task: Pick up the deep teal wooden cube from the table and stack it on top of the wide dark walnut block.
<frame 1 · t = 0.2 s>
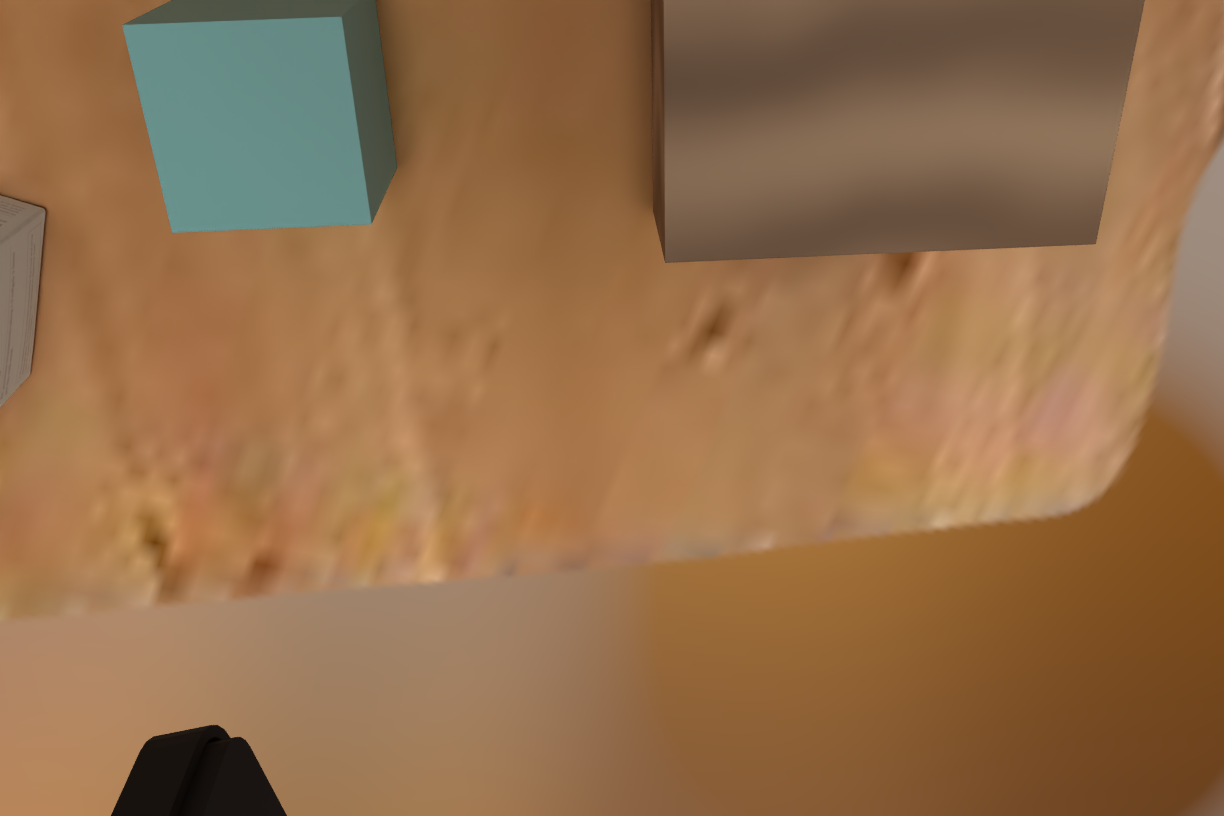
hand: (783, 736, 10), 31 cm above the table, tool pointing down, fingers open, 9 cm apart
teal cube: (297, 83, 36), on the table
walnut block: (861, 0, 36), on the table
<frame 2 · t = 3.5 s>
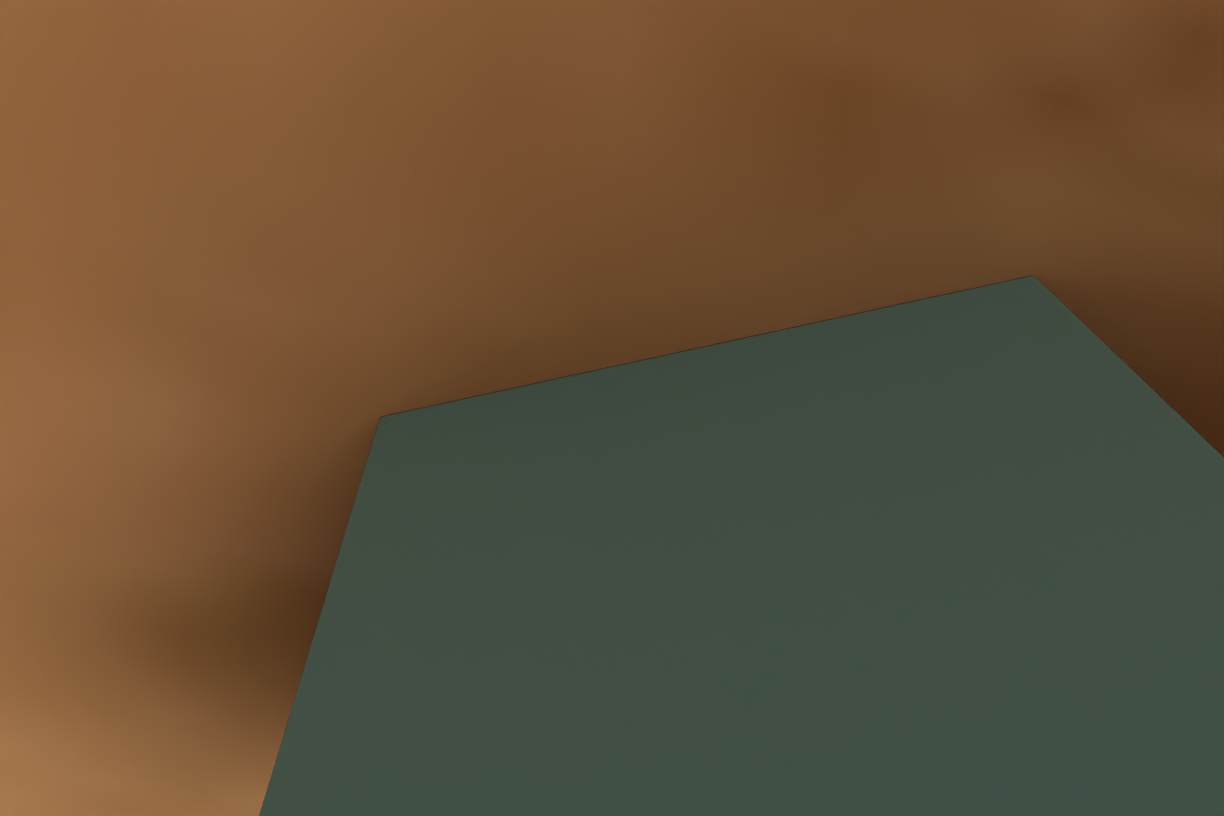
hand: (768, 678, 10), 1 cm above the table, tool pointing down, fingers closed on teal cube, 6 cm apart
teal cube: (751, 603, 11), on the table, touching gripper
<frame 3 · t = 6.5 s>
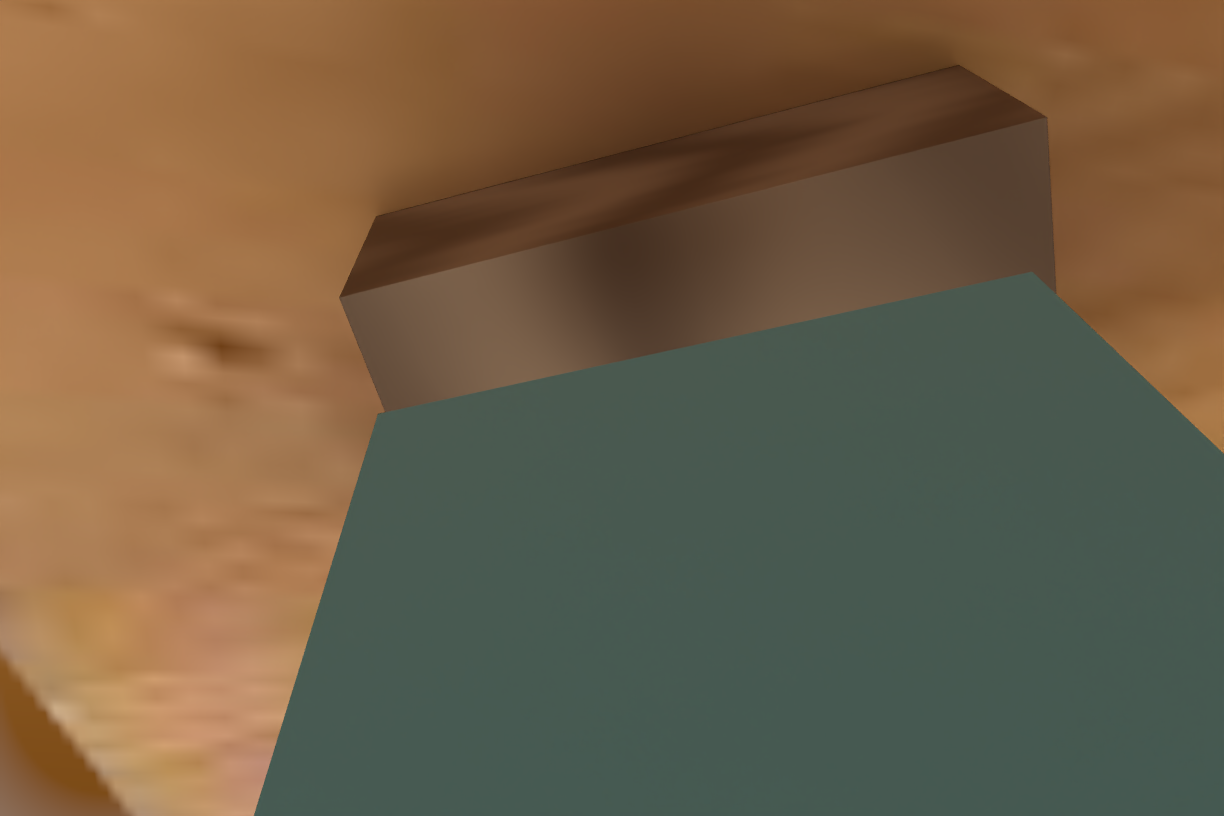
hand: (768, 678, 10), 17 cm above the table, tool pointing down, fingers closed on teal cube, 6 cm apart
teal cube: (750, 600, 11), point 16 cm above the table, touching gripper
walnut block: (719, 397, 28), on the table
when the fingers open (6 cm above the table, at t = 9.9 s): teal cube stays where it is, resting on walnut block.
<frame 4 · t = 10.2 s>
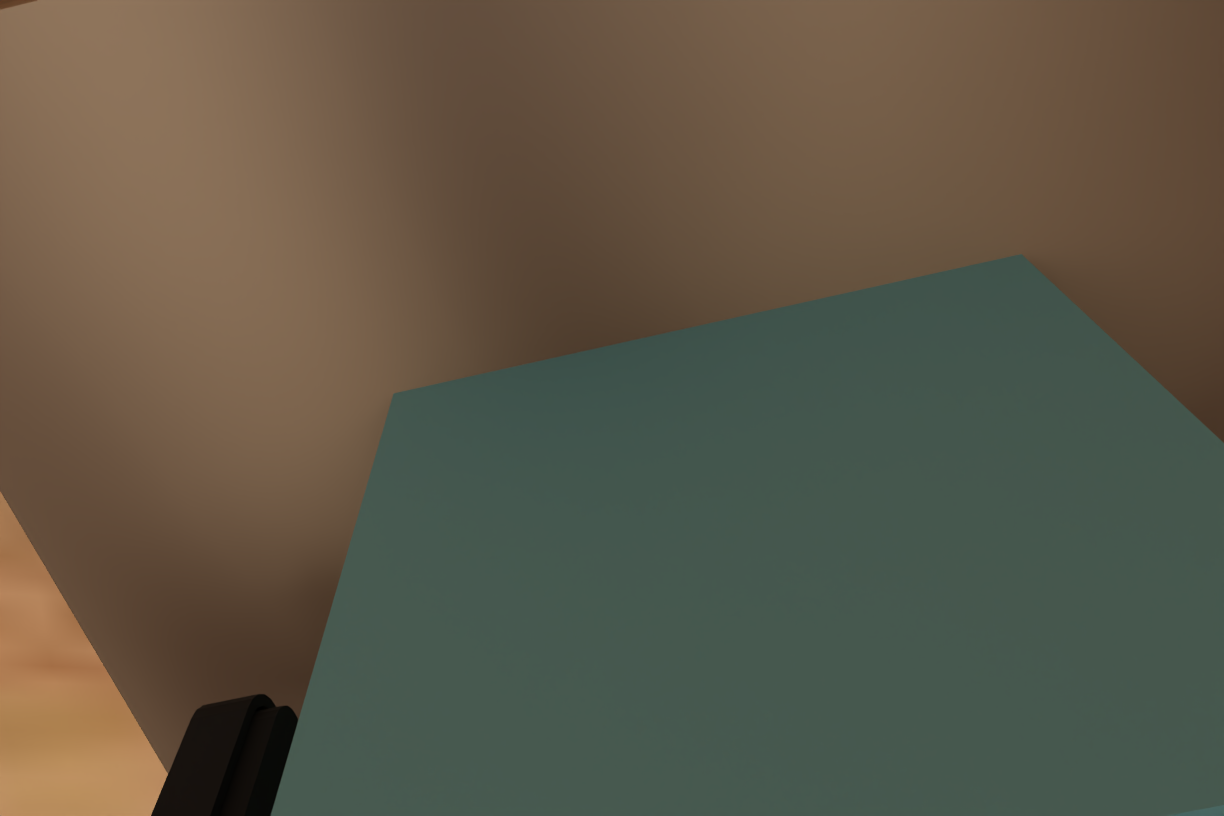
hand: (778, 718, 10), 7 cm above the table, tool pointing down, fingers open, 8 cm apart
teal cube: (751, 574, 12), point 5 cm above the table, touching walnut block
walnut block: (693, 368, 16), on the table
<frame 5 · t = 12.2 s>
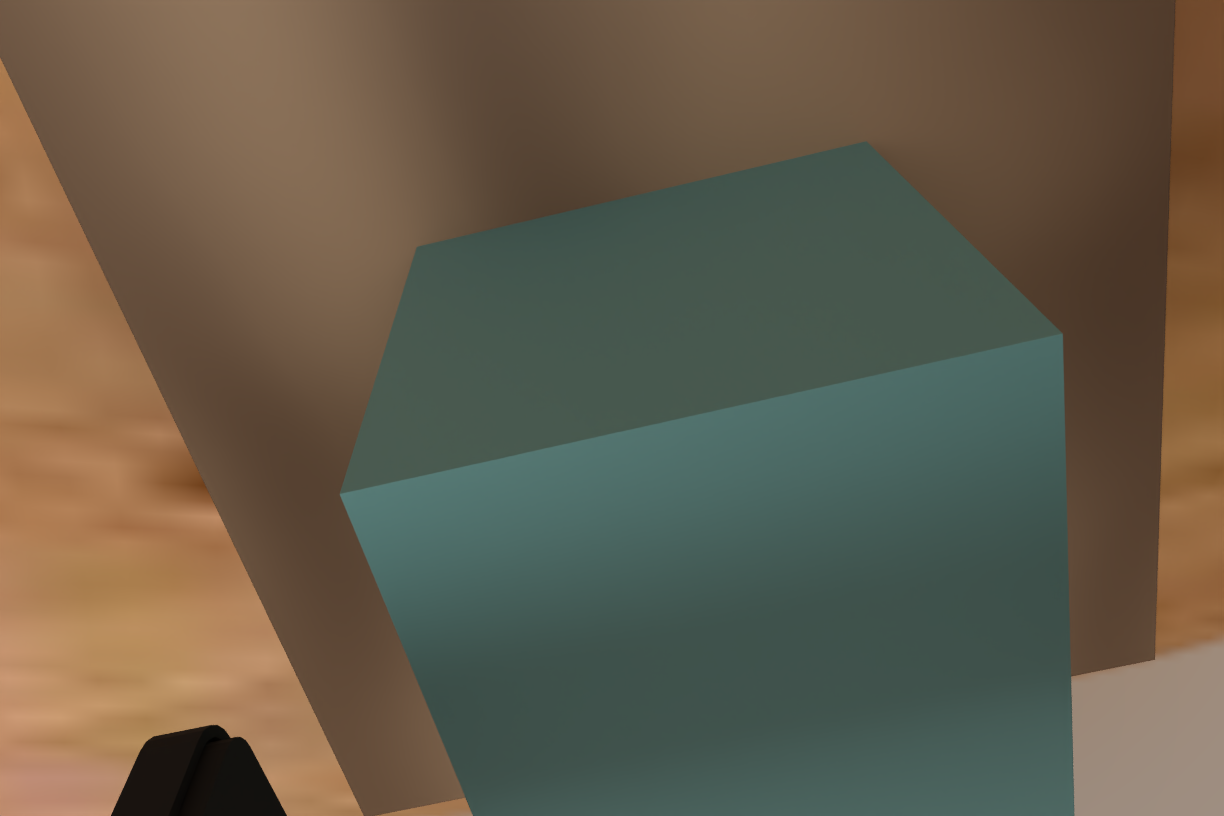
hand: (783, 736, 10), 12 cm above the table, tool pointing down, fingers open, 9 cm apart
teal cube: (682, 392, 15), point 5 cm above the table, touching walnut block
walnut block: (647, 269, 20), on the table
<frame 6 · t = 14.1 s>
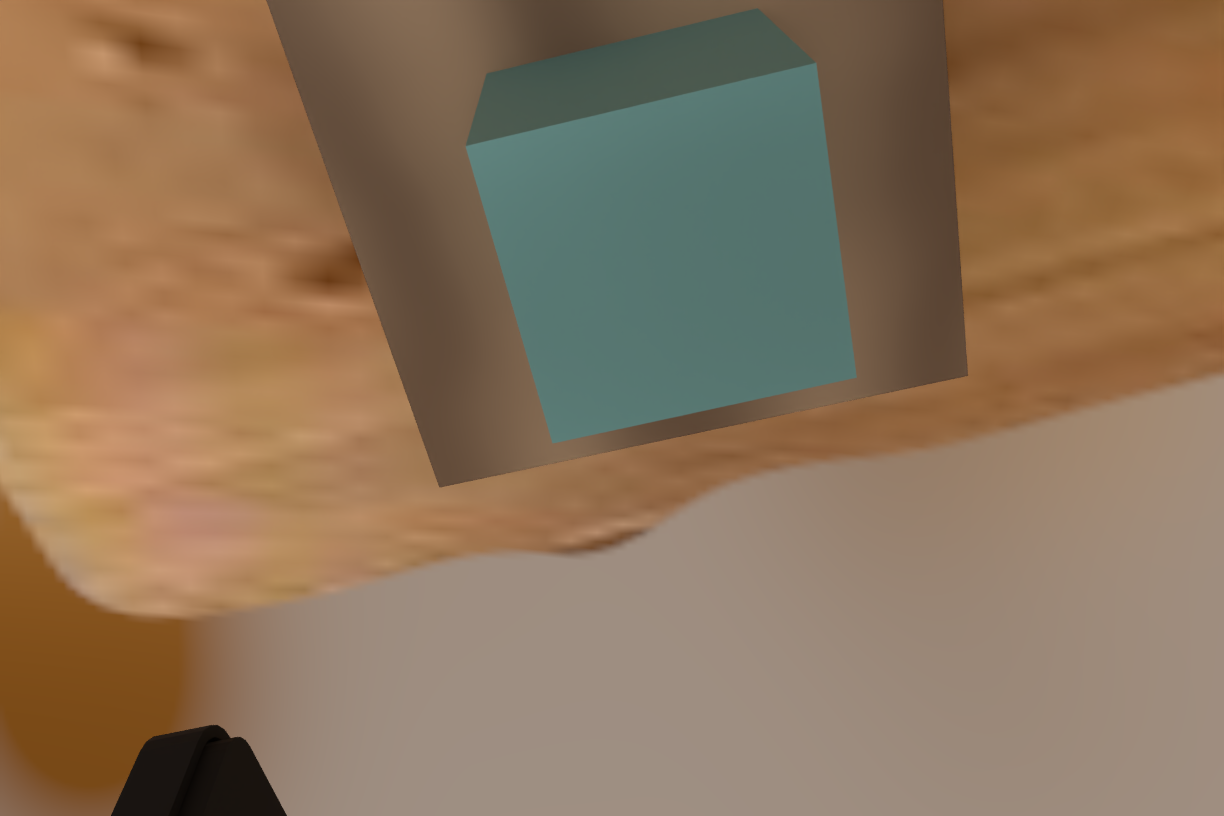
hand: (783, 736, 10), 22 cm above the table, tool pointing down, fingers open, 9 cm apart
teal cube: (649, 173, 25), point 5 cm above the table, touching walnut block
walnut block: (632, 121, 29), on the table
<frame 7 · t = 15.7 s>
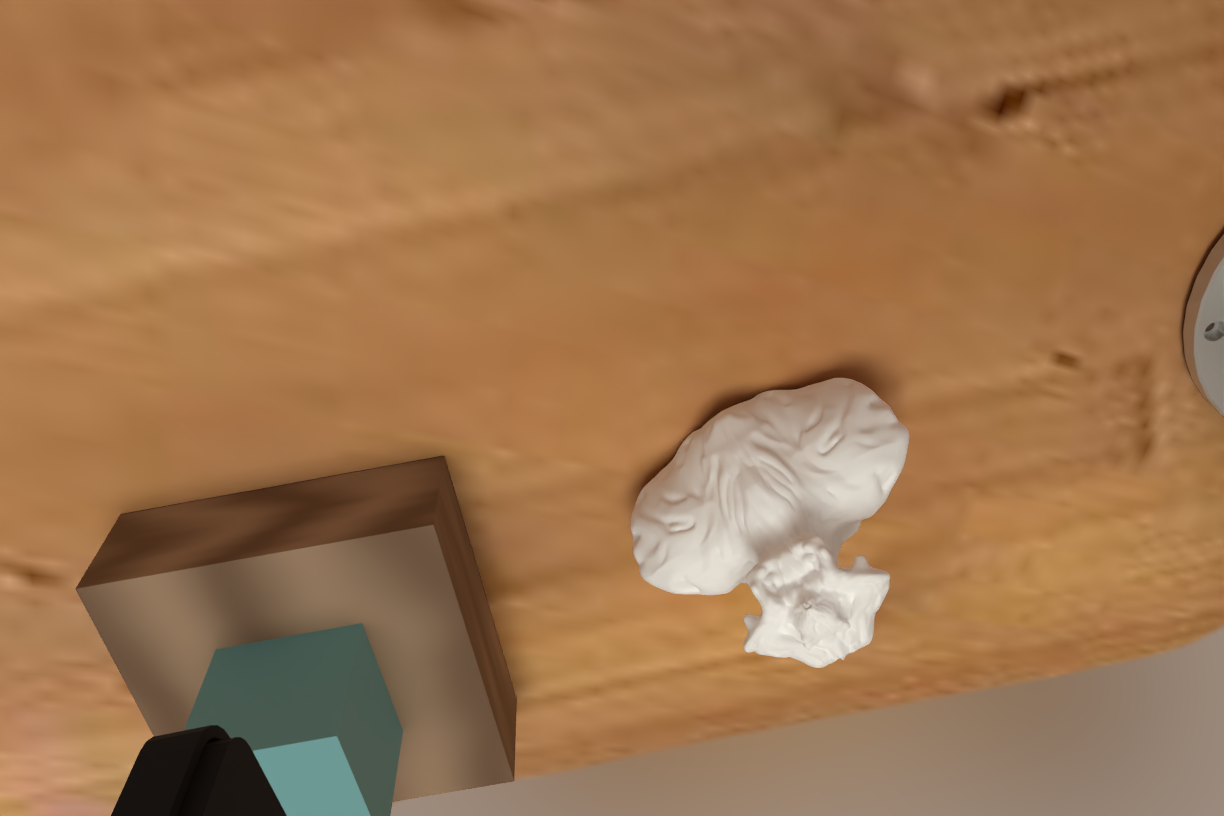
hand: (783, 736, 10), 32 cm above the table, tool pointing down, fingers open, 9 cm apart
teal cube: (312, 691, 44), point 5 cm above the table, touching walnut block
bust: (758, 457, 46), on the table
walnut block: (331, 613, 49), on the table
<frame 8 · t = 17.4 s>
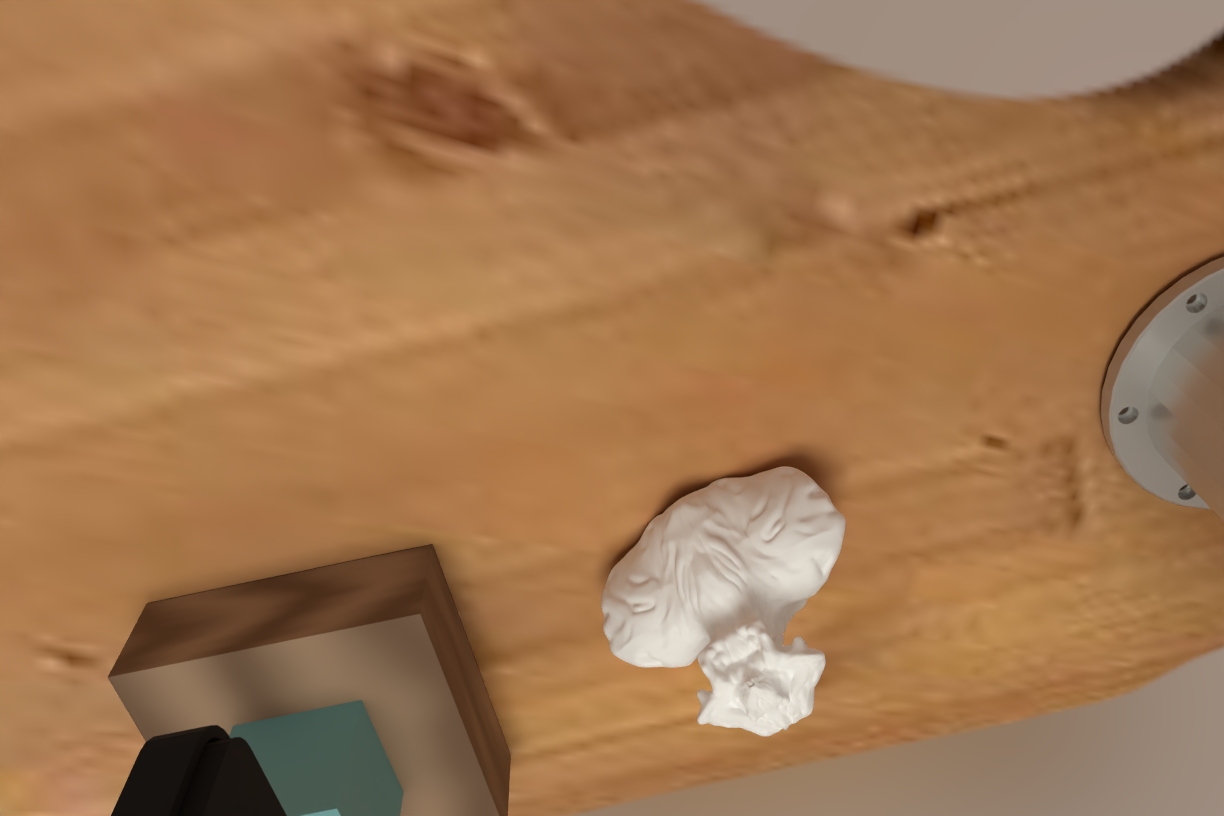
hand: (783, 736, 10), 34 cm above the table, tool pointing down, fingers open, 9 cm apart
teal cube: (320, 759, 49), point 5 cm above the table, touching walnut block
bust: (717, 536, 51), on the table
walnut block: (338, 683, 54), on the table
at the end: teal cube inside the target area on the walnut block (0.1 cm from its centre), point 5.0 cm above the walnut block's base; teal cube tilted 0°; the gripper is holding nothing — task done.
